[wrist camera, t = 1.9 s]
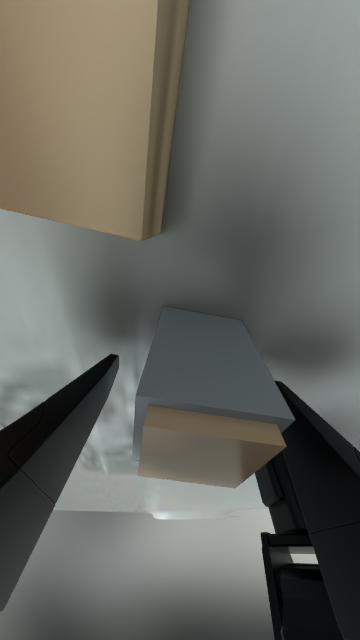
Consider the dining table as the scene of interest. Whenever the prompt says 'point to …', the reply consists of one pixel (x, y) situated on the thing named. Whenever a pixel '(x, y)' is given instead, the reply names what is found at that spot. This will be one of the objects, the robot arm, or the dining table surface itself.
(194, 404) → the grey box
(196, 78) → the dining table surface
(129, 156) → the block
